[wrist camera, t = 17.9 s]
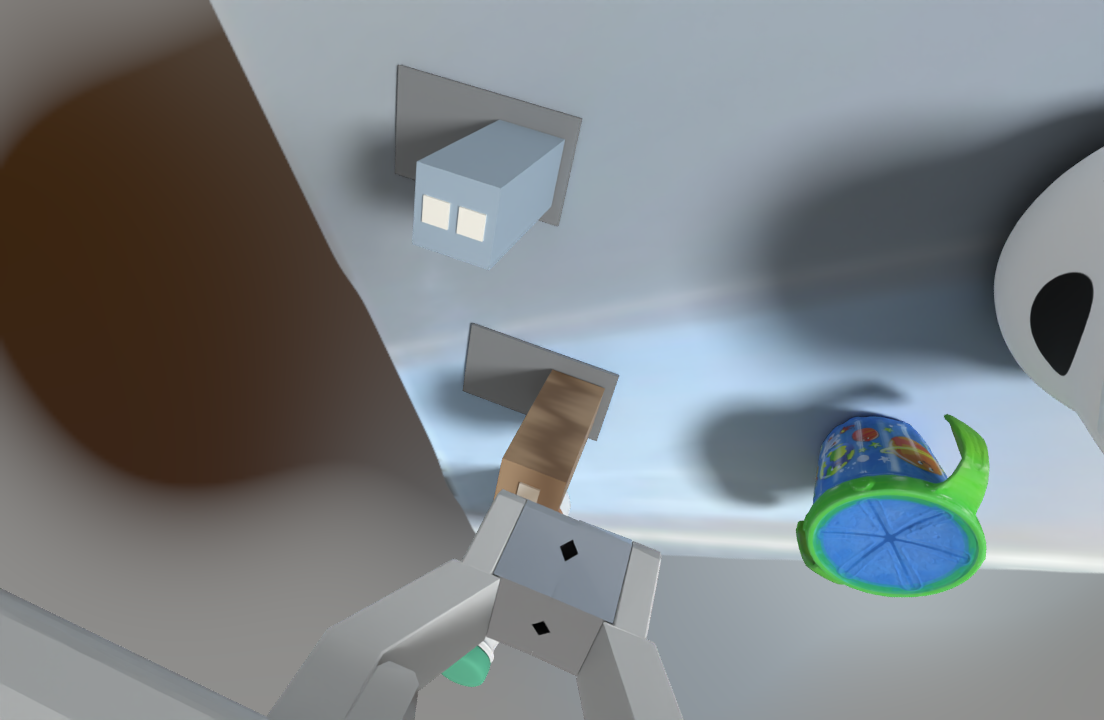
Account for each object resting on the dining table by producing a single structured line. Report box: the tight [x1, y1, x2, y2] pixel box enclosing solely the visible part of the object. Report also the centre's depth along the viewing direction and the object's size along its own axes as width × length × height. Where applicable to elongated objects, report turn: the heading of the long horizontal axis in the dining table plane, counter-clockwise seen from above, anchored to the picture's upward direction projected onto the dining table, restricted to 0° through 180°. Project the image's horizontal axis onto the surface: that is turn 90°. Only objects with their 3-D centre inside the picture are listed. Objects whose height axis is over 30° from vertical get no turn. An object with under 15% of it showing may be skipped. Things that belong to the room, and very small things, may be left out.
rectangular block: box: [412, 120, 565, 270], centre depth 37 cm, size 5×5×12 cm
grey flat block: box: [395, 65, 582, 226], centre depth 43 cm, size 14×8×1 cm, turn 78°
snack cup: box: [796, 414, 989, 597], centre depth 42 cm, size 16×10×10 cm
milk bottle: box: [441, 491, 571, 687], centre depth 53 cm, size 8×8×20 cm
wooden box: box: [494, 370, 605, 512], centre depth 47 cm, size 5×5×12 cm
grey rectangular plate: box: [463, 323, 619, 441], centre depth 53 cm, size 14×8×1 cm, turn 78°
